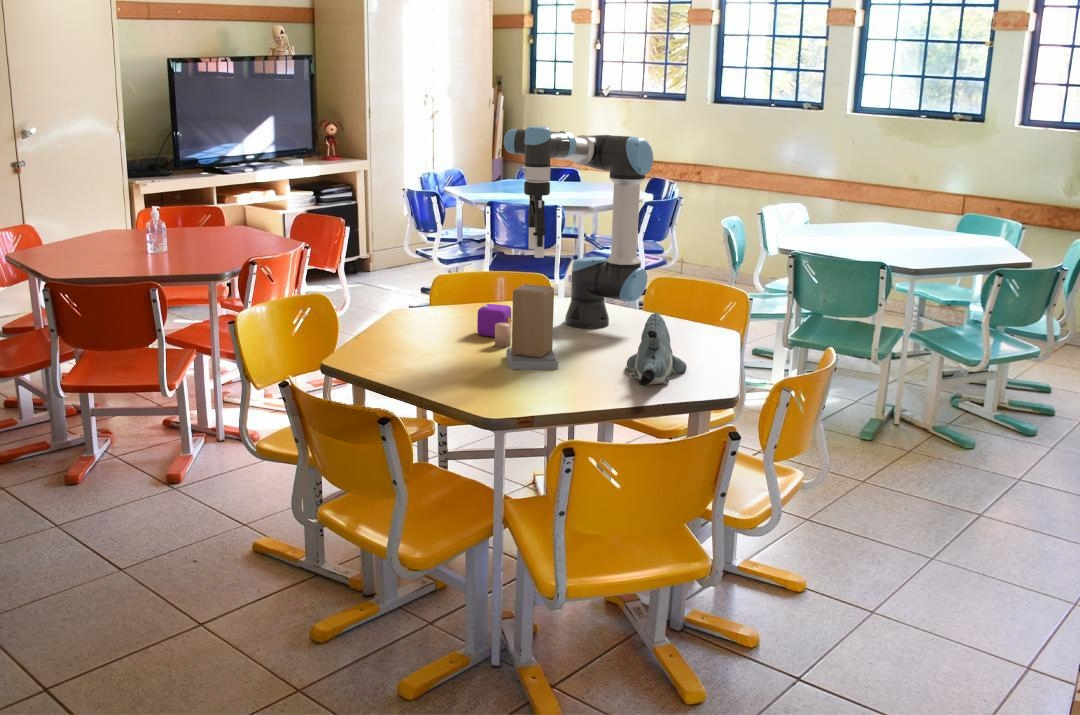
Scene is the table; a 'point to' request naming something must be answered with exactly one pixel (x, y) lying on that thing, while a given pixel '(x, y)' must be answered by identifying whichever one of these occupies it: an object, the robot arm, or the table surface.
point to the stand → (531, 361)
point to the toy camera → (492, 318)
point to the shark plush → (655, 354)
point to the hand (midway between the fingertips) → (536, 253)
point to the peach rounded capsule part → (502, 334)
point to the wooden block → (532, 320)
